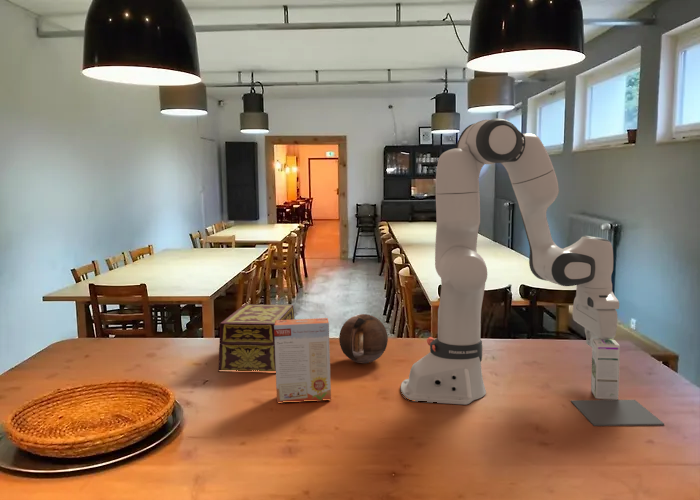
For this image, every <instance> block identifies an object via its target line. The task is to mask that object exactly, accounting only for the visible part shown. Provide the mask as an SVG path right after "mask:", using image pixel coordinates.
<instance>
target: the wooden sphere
mask: <svg viewBox="0 0 700 500" xmlns="http://www.w3.org/2000/svg"><path fill="white" fill-rule="evenodd" d="M338 339H339V340H338V342H339V346H340V349H341V351H342V352H343V354H344V355H345V357H347V358H348V359H349V360H350V361H353V362H355V363H357V364H358V363H359V364H369V362H370V363H373V362H374V361H376V360H378V359H379V358H380V357H382V356H383V355H384V353H385V351H386V349H387V346H388V342H389V340H388V339H389V337H388V332H387V329H386V327H385V325H384V324H383V322H382V321H381V320H380V319H379V318H378V317H376V316H373V315H371V314H367V313H361V314H360V313H359V314H356V315H353V316H351V317H350V318H348V319H347V320H346V321H345V322H344V323H343V325H342V327H341V329H340V332H339V337H338Z"/></svg>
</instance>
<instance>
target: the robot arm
mask: <svg viewBox="0 0 700 500" xmlns="http://www.w3.org/2000/svg"><path fill="white" fill-rule="evenodd" d="M493 164H501V165H502V166H503V167H504V168H505V170H506V172H507V174H508V177H509V178H508V179H509V180H510V183H511V186H512V190H513V192H514V195H515V198H516V200H517V203H518V207H519V211H520V215H521V216H520V217H521V220H522V223H523V227H524V230H525V234H526V238H527V242H528V246H529V258H528V259H529V261H528V263H529V264H528V265H529V269H530V271H531V273H532V274H533V276H534V277H536V278H537V279H540V280H542V281H546V282H549V283H550V282H551V283H553V284H555V285H558V286H560V287H561V286H562V287H573V286H576V292H575V297H574V299H573V303H572V304H573V305H572V320H573V321H574V322H575V323H577V324H578V325H580V326H582V327H583V328H584V334H585V338H586V340H585V343H586V345H587V346H589V347H591V348H592V340H593V339H599V338H601V339H614V338H615V337H616V334H617V328H618V311H617V310H619V309H620V301H619V299H618V298H617V297H616V295H615V294H614V292H613V283H612V274H613V271H614V249H613V245H612V243H611V241H610V240H609V239H606V238H604V237H603V238H602V237H598V236H592V235H583V236H581V237H580V239H578V240H577V241H575V242H574V243H572V244H571V245H569V246H566V247H564V248H561V247H560V246H558V245H557V244H556V243H555V241H554V240H553V237H552V233H551V229H550V226H549V222H548V219H547V211H548V208H549V207H550V206H551V205H552V204H553V203H554V202H555V200H556V199H557V197H558V195H559V192H560V189H559V182H558V177H557V175H556V171H555V167H554V166H553V162H552V160H551V157H550V155H549V153H548V151H547V149H546V146H545V145H544V144H543V142H542V140H541V138H540V137H539V136H537V135H536V134H534V133H522V132H521V131H520V130H519V129H518V128H517V127H516V126H515V124H513V123H512V122H511V121H509V120H507V119H503V118H492V119H483V120H479V121H477V122H475V123H472V124H469V125H468V126H467V127H465V129H463V131H462V132H461V133H460V135H459V138H458V140H457V142H456V144H455V146H454V148H451V149H448V150H446V151H444V152H442V153H441V154H440V156H439V157H438V160H437V164H436V165H437V166H436V173H435V211H436V212H435V213H436V227H435V228H436V231H435V248H434V249H435V250H434V252H435V253H434V256H435V257H434V266H435V271H436V274H437V275H438V277H440V281H441V286H440V287H441V288H440V297H439V306H438V308H437V337H436V338H435V339H434V337H432V336H429V337H427V339H426V343H427V345H428V346H429V350H430V352H428V353H427V354H425V355H424V356H422V357H421V358H420V359H419V360H417V361H416V362H414V363H413V364H412V366H411V368H410V371H409V375H408V378H405V379H404V380H403V381H402V382H401V384H400V393H401V392H402V393H401V395H402V394H403V395H404V396H405V397H406V398H408V399H410V400H415V401H414V402H418V401H427V402H426V403H433V402H437V403H436V404H451V405H452V404H453V405H465V406H466V405H469V404H470V403H472V402H474V401H475V400H478V399H481V398H482V397H484V396H485V395H486V394H487V389H486V387H485V383H484V379H483V372H482V360H483V359H482V358H483V341H482V339H481V325H482V324H481V322H482V321H481V317H482V307H483V302H484V301H483V300H484V295H485V287H486V282H487V279H488V268H487V265H486V262H485V260H484V258H483V257H482V256H481V255H480V254H479V253H478V251H477V247H478V246H477V245H478V244H477V243H478V236H479V235H478V234H479V228H480V225H481V204H480V203H481V200H480V194H481V193H480V175H481V170H482V169H483V167H484V165H493ZM403 395H402V396H403ZM404 396H403V397H404ZM405 397H404V398H405ZM406 398H405V399H406Z"/></svg>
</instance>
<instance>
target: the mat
mask: <svg viewBox="0 0 700 500" xmlns="http://www.w3.org/2000/svg"><path fill="white" fill-rule="evenodd" d="M570 402H571V403H572V404H573V406H574V407H576V409H577V410H578V412H580V413H581V414H582V415H583V417H585V418H586V419H587V420H588V422H589V423H590V424H592V425H593V427H613V426H614V427H616V426H617V427H618V426H619V427H620V426H622V427H624V426H627V427H628V426H629V427H631V426H632V427H635V426H639V427H640V426H644V427H645V426H665V423H664V422H663V421H662V420H661V419H660V418H658V417H657V416H656V415H654V414H653V413H652V412H651V411H650V410H649V409H647V408H646V407H644V406H643V405H642V404H641V403H640V402H638V401H637V400H636V399H618V400H607V399H589V400H588V399H581V400H579V399H577V400H576V399H575V400H573V399H572V400H570Z"/></svg>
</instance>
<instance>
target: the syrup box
mask: <svg viewBox="0 0 700 500" xmlns="http://www.w3.org/2000/svg"><path fill="white" fill-rule="evenodd" d="M620 351H621V345H620V344H619V343H618V342H617V341H616V340H615V339H614V338H613V339H601V338H599V339H593V340H592V347H591V375H590V379H591V381H590V391H591V393H592V394H593V396H594V398H595V400H619V391H620V360H621V359H620V356H621V355H620V353H621V352H620Z"/></svg>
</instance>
